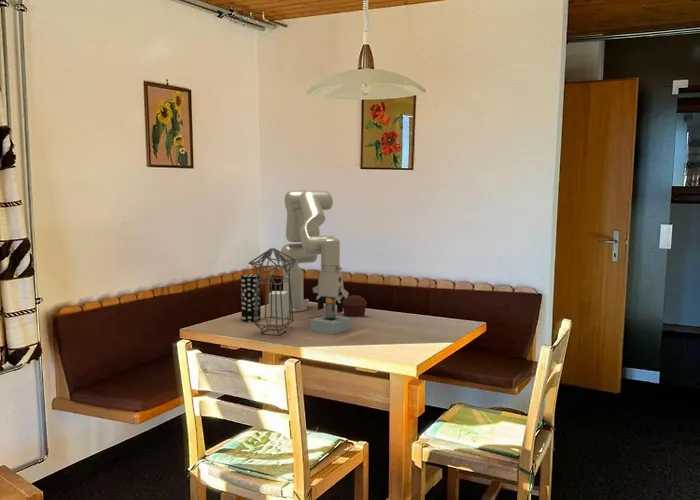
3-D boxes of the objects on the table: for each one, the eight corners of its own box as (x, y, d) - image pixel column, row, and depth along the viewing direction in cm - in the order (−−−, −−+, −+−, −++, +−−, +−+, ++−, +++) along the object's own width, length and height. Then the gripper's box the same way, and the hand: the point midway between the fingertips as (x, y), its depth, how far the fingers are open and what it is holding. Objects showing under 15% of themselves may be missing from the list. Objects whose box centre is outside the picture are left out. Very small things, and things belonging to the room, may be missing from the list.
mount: (322, 323, 281) (322, 313, 281) (337, 325, 277) (337, 316, 276) (308, 327, 273) (308, 318, 273) (323, 329, 269) (323, 320, 268)
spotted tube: (259, 322, 282) (258, 277, 280) (240, 322, 282) (239, 276, 280) (262, 318, 291) (261, 274, 288) (243, 318, 291) (242, 274, 289)
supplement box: (288, 318, 290) (288, 290, 288) (285, 322, 282) (285, 293, 281) (272, 318, 291) (272, 290, 289) (268, 322, 283) (268, 293, 282)
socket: (327, 328, 271) (327, 314, 270) (351, 332, 264) (351, 318, 264) (309, 334, 261) (309, 319, 261) (333, 338, 254) (333, 323, 254)
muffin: (368, 315, 297) (368, 293, 296) (366, 320, 286) (366, 298, 285) (342, 314, 298) (342, 293, 297) (339, 320, 288) (339, 297, 286)
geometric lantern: (299, 330, 268) (298, 246, 263) (282, 340, 253) (281, 251, 248) (264, 326, 273) (264, 244, 268) (246, 336, 259) (245, 249, 254)
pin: (329, 329, 266) (329, 295, 264) (337, 330, 263) (337, 296, 262) (322, 331, 262) (323, 297, 261) (331, 332, 260) (331, 298, 258)
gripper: (353, 269, 258) (353, 311, 260) (318, 265, 268) (318, 306, 270) (342, 272, 252) (342, 315, 254) (307, 267, 262) (307, 309, 264)
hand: (330, 310), depth 262 cm, fingers open, 9 cm apart
